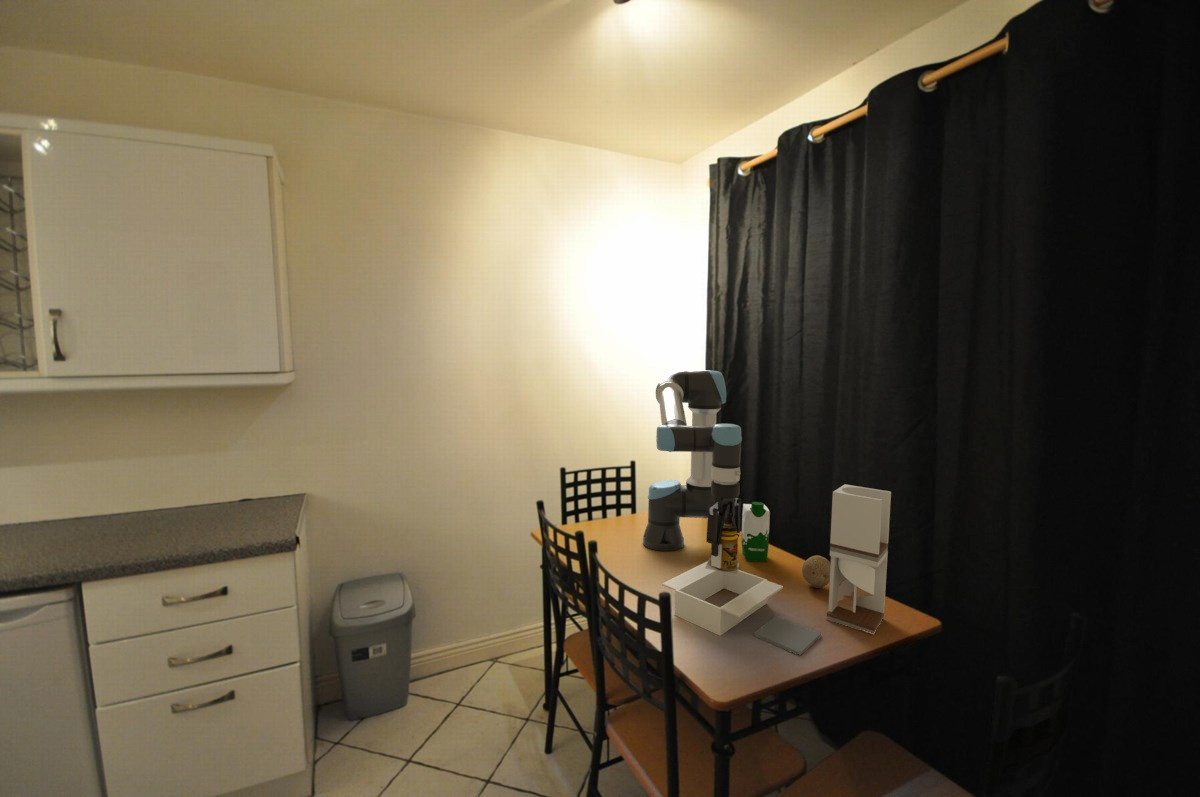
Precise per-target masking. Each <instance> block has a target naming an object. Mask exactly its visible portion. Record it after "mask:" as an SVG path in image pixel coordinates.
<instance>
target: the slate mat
mask: <svg viewBox="0 0 1200 797" xmlns="http://www.w3.org/2000/svg"><path fill="white" fill-rule="evenodd" d="M820 636H821V637H822V633H821V632H819V631H816V630H814V629H811V628H809V627H805V626H803V625H801V624H798V623H795V622H792V621H790V620H787V619H785V618H782V617H780V616H777V615H775V616H774V617H773V618H772V619H770V620H769V621H768V622H766V623H764V624H763V625H762V626H761V627H759V628H758V629H757V630H756V631H754V632H753V637H756V638H757V639H760V640H762V641H764V642H767V643H769V644H771V645H774V646H776V647H778V648H781V649H783V650H785V649H786V651H788V652H790V651H791V652H790V653H792V652H793V653H792V654H795V653H796V654H795V655H797V654H799V655H801V654H802V653H803V652H804V651H805V650H806V649H807V648H808V647H809V648H810V647H812V645H814V644H815V643H816V642H817V641H818V640H819V639H820V638H821V637H820ZM819 637H820V638H819ZM818 638H819V639H818ZM817 639H818V640H817ZM816 640H817V641H816ZM815 641H816V642H815ZM814 642H815V643H814ZM809 648H808V649H809ZM808 649H807V650H808ZM807 650H806V651H807ZM806 651H805V652H806ZM805 652H804V653H805ZM804 653H803V654H804ZM799 655H798V656H799ZM801 656H802V655H801Z"/></svg>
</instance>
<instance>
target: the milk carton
mask: <svg viewBox="0 0 1200 797" xmlns="http://www.w3.org/2000/svg"><path fill="white" fill-rule="evenodd" d="M741 515H742V517H741V518H742V519H741V551H742V553H741V554H742V555H743V557H744V559H745V561H746V562H760V563H761V562H762V563H767V562H768V555H769V554H768V553H769V547H770V546H769V541H770V515H771V512H770V509H769V508H768V506H766V505H765V503H764V502H761V501H752V502H751V503H743V504H742V514H741Z"/></svg>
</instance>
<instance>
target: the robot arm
mask: <svg viewBox="0 0 1200 797" xmlns="http://www.w3.org/2000/svg"><path fill="white" fill-rule="evenodd" d="M726 388H727V386H726V381H725V378H724V375H723V373H722V372H721V371H718V370H710V369H708V370H701V369H700V370H683V369H680V370H674V371H672V372H670V373H668V374H666V375H665V376H663V377H662V378H661V380H660V381H659V382H658V383H657V385H656V387H655V399H656V401H657V403H658V404H659V410H660V420H661V425H658V426H657V428H656V436H655V438H656V449H657V450H658V451H660V452H669V453H672V452H673V453H675V452H678V453H679V452H680V453H681V452H682V453H683V452H685V453H686V452H689V453H690V476H689V477H688V478H687V479H686V482H685V485H684V484H683V485H681V482H680V481H679V480H676V479H675V480H674V479H663V480H660V481H656V482H653V483H652V484H650V485H649V488H648V495H647V499H648V505H647V506H648V507H647V508H648V510H647V512H648V513H647V525H646V528H645V531H644V533H643V537H642V545H644V546H645V547H646V548H648V549H650V550H654V551H659V552H660V551H661V552H672V551H679V550H681V549H682V548H684V544H685V538H684V536H683V532H682V529H681V524H680V520H681V518H689V519H690V518H693V519H697V518H699V519H707V523H706V524H707V525H706V526H707V527H706V541H705V542H706V543H707V544H708V543H709V544H710V545H711V549H710V550H711V553H710V554H711V555H710V556H711V557H710V558H711V566H714V567H717V568H721V557H722V544H720V541H721V536H722V530H723V525H724V522H729V523H733V524H735V525H736V526H737V536H738V538H739V537H740V533H741V505H742V499H741V498H739V496H740V489H741V488H740V484H741V483H740V482H739V481H740V480H741V479H740V478H741V474H742V473H741V458H742V457H741V455H742V454H741V453H742V452H741V451H742V441H743V437H742V427H741V426H740V425H738V424H734V423H717V413H718V412H719V411H720V410H721V409H722V405H724V404H726V402H727V389H726ZM683 403H684V404H685V403H687V405H688V406H687V407H688V409H689V410H690V411H691V413H692V416H691V417H692V418H691V419H692V420H691V425H688V424H687V419H686V413H685V409H684V404H683Z"/></svg>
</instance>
